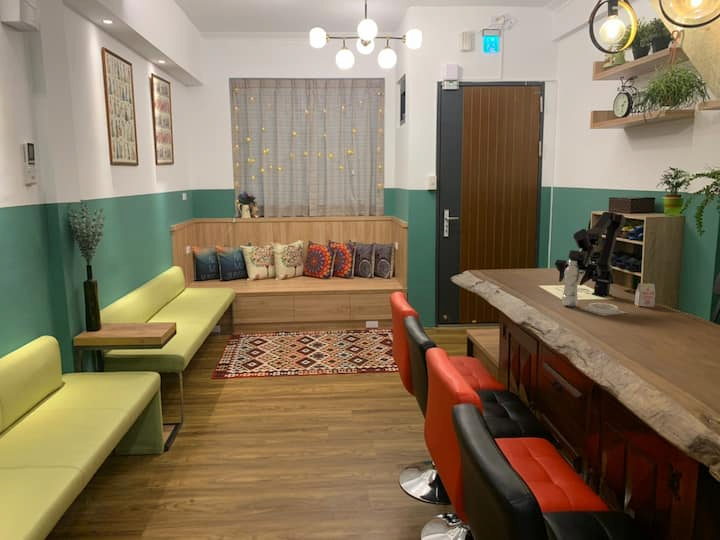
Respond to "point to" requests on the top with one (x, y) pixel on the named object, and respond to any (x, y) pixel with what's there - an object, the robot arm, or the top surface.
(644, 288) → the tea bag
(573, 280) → the plastic bottle
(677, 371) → the top surface
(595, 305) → the bottle holder
